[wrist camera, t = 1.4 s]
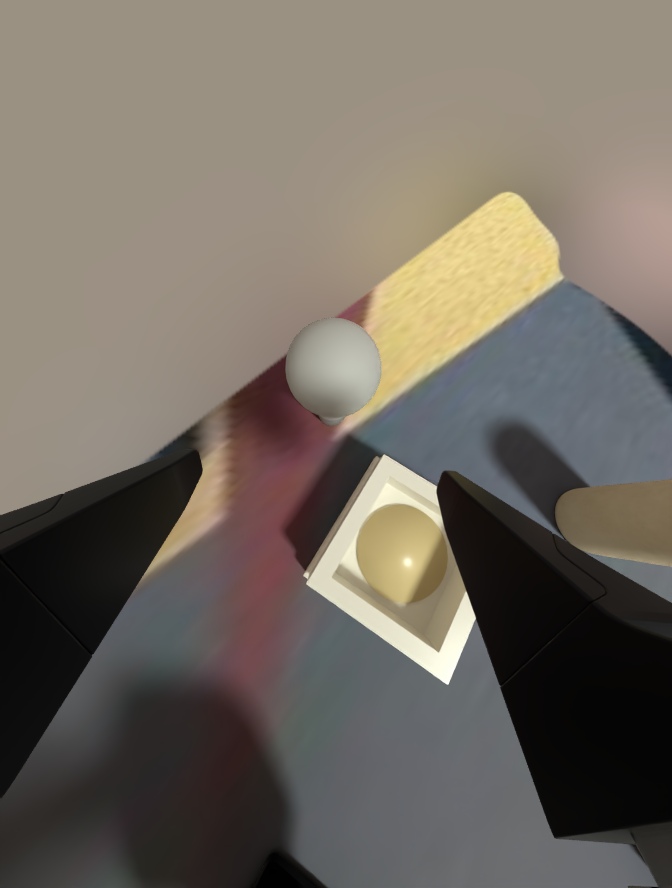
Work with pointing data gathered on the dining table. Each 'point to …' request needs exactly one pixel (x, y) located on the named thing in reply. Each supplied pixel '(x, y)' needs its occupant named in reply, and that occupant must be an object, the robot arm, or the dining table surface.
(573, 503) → the candle
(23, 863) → the dining table surface
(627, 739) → the robot arm
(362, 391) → the lightbulb
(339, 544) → the socket
